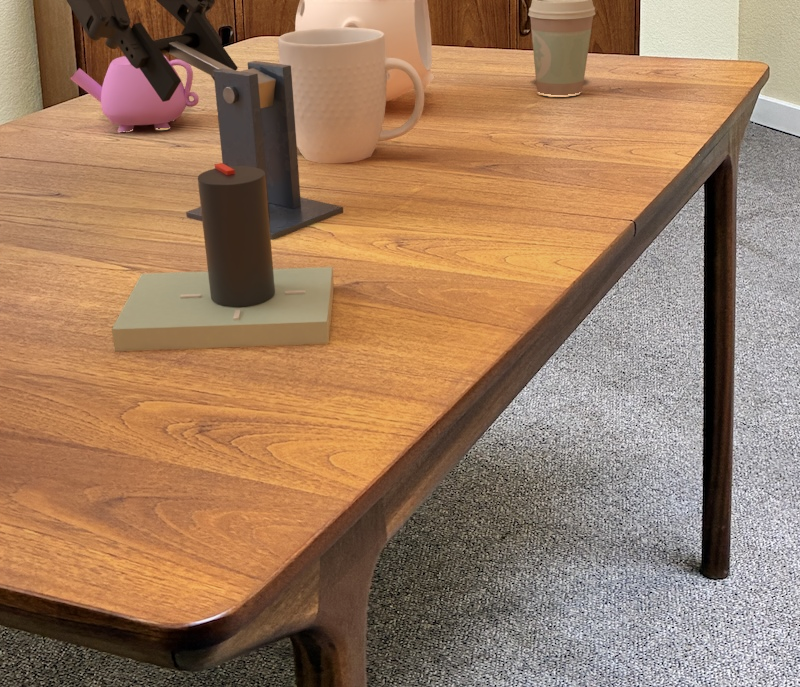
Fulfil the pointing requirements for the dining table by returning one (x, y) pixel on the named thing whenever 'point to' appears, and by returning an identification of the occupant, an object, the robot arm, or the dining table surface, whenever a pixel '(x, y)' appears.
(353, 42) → the mug
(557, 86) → the coffee cup
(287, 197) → the bracket
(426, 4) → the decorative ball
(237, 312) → the panel
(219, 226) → the program knob
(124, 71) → the teapot
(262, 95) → the lever
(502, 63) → the dining table surface
